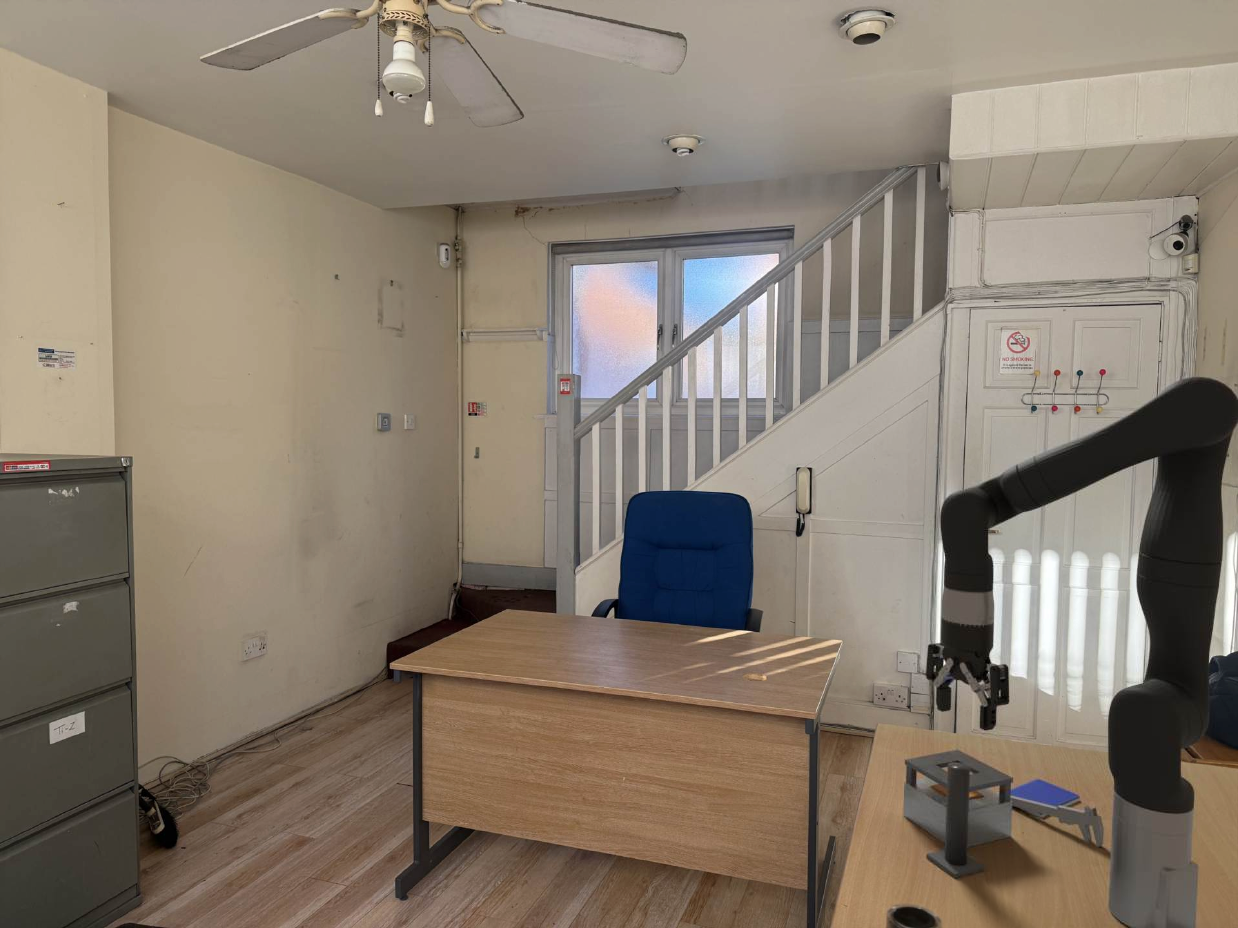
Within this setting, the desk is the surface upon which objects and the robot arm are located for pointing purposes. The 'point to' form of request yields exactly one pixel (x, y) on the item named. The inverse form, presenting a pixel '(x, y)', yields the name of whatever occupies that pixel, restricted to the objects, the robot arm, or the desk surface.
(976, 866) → the pad
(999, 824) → the grey boxy frame
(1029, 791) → the hard drive
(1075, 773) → the desk surface
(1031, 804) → the caliper
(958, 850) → the handle
